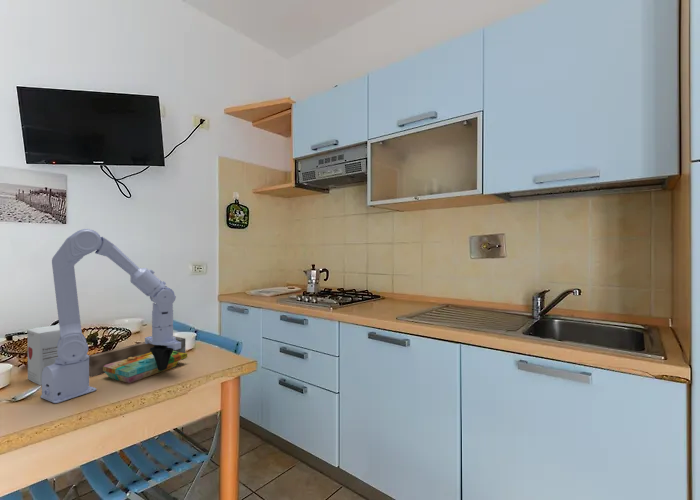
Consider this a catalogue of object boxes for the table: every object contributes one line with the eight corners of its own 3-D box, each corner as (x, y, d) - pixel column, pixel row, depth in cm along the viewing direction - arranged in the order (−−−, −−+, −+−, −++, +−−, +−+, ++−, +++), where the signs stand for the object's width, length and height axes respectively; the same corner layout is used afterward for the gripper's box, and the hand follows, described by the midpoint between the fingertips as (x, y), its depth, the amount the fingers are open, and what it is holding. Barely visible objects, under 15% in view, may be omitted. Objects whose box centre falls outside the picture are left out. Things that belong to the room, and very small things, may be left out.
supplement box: (26, 379, 103) (26, 328, 103) (63, 370, 111) (63, 323, 111) (39, 386, 99) (39, 332, 99) (76, 376, 107) (76, 326, 106)
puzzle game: (102, 363, 105) (163, 346, 123) (102, 379, 105) (163, 359, 123) (128, 369, 100) (187, 350, 118) (128, 385, 100) (187, 364, 118)
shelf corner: (110, 382, 102) (110, 358, 102) (88, 375, 107) (88, 352, 107) (185, 358, 124) (185, 338, 124) (164, 353, 129) (164, 334, 129)
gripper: (190, 325, 108) (189, 369, 108) (159, 320, 115) (159, 362, 115) (169, 330, 102) (168, 376, 102) (138, 324, 109) (138, 368, 109)
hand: (162, 369), depth 108 cm, fingers closed
